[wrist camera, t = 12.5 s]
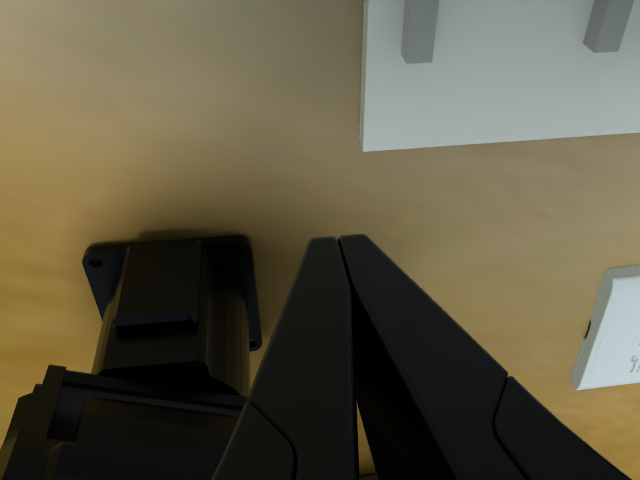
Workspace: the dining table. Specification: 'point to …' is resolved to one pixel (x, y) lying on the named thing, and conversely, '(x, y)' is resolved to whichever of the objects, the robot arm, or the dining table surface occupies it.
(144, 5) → the dining table surface
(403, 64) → the board
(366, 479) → the plant pot
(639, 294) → the external hard drive
